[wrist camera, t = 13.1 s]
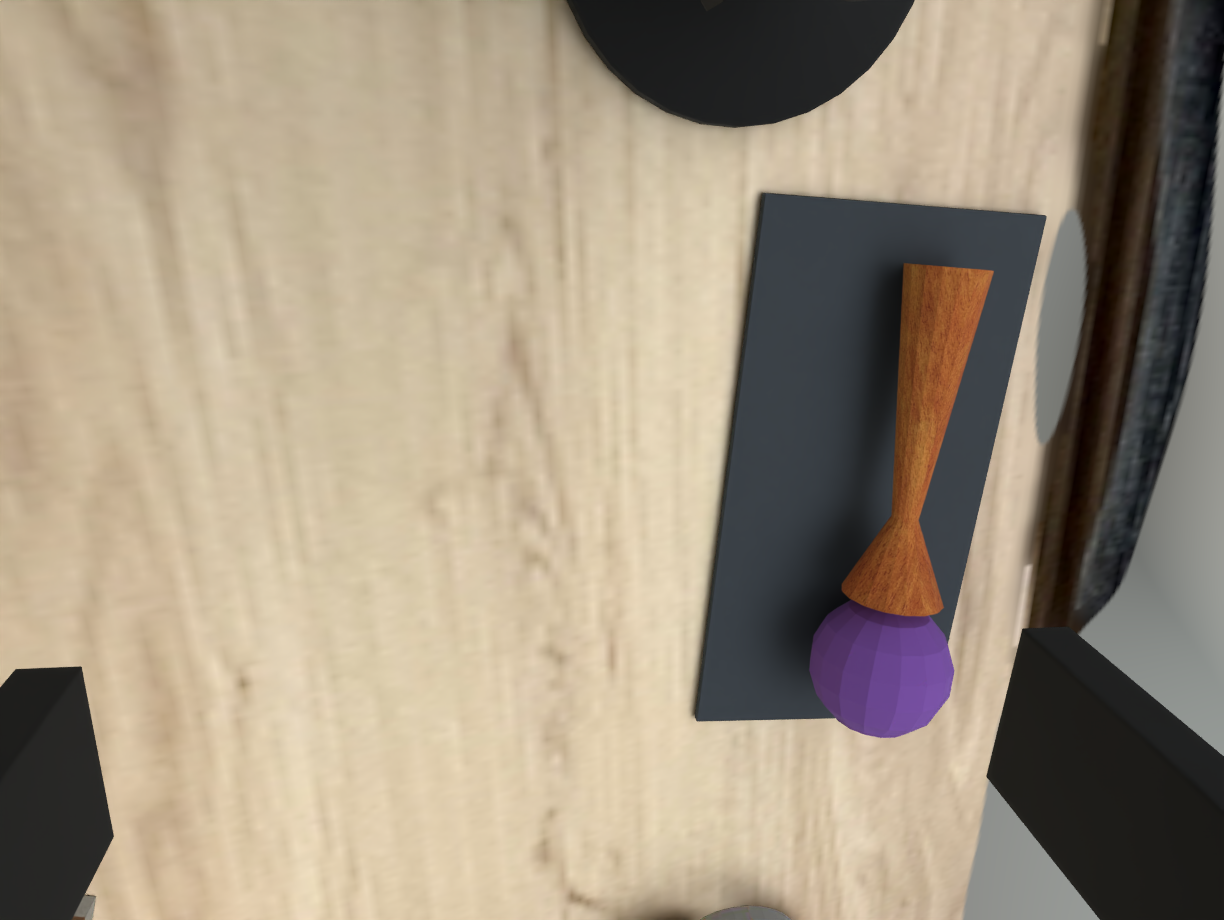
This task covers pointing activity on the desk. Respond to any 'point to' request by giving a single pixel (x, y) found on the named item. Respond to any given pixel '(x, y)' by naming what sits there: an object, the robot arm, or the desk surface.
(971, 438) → the mat
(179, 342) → the desk surface
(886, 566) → the kendama
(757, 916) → the alarm clock
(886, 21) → the microphone
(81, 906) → the display case
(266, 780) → the desk surface
